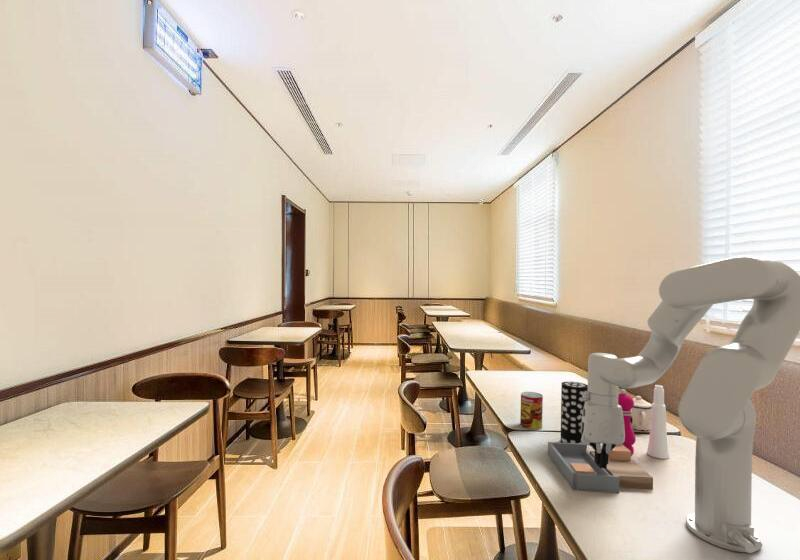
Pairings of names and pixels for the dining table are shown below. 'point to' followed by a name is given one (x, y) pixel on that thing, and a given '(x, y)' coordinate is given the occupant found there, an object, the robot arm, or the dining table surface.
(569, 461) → the box
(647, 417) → the teacup with lid
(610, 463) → the board
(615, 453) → the tile
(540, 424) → the canned food
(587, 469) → the tile
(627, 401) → the pepper mill
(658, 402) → the cosmetic bottle
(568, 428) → the spotted tube
